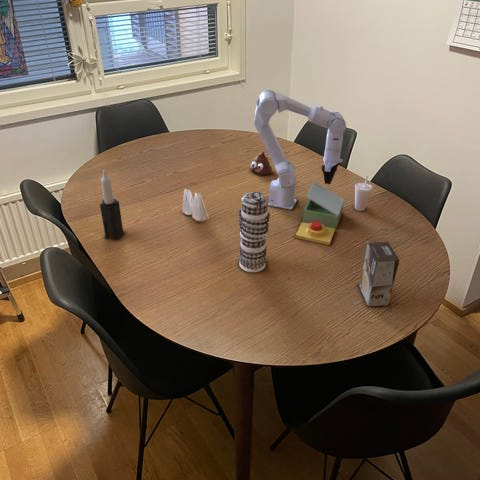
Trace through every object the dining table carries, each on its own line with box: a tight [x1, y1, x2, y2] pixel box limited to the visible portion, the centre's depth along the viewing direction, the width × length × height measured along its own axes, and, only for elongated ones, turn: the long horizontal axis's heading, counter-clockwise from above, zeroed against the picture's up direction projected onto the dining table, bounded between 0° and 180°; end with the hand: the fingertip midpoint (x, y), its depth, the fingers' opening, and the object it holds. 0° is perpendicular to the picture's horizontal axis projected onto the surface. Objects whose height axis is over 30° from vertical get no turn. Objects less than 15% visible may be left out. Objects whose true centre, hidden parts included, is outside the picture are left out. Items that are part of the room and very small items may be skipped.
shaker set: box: [181, 188, 210, 223], centre depth 168 cm, size 12×4×11 cm, turn 40°
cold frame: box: [301, 199, 344, 230], centre depth 170 cm, size 12×11×5 cm
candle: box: [99, 169, 124, 241], centre depth 154 cm, size 5×5×25 cm
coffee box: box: [359, 241, 400, 307], centre depth 132 cm, size 9×6×16 cm
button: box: [311, 221, 322, 231], centre depth 160 cm, size 4×4×2 cm
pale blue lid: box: [305, 181, 345, 216], centre depth 167 cm, size 13×11×1 cm
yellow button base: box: [295, 222, 336, 246], centre depth 162 cm, size 12×9×3 cm
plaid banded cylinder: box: [238, 191, 271, 273], centre depth 141 cm, size 9×9×25 cm
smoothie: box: [354, 175, 373, 212], centre depth 174 cm, size 6×6×14 cm
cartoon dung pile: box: [249, 151, 273, 176], centre depth 201 cm, size 10×8×9 cm
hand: (328, 180), depth 174 cm, fingers open, 4 cm apart
